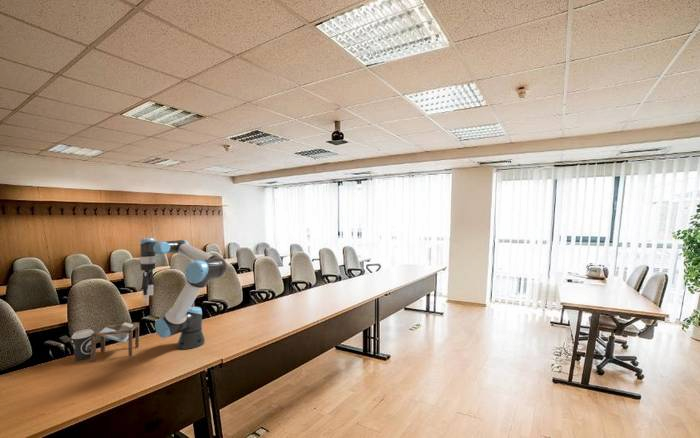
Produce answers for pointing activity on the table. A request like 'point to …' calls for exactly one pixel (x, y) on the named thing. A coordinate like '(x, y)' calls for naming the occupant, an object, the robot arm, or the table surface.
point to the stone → (124, 327)
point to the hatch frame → (96, 333)
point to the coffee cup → (82, 344)
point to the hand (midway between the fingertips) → (148, 297)
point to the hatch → (113, 335)
